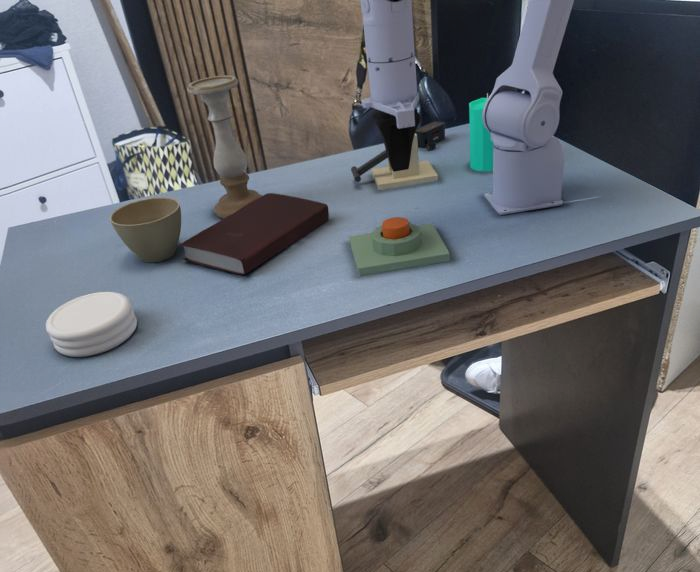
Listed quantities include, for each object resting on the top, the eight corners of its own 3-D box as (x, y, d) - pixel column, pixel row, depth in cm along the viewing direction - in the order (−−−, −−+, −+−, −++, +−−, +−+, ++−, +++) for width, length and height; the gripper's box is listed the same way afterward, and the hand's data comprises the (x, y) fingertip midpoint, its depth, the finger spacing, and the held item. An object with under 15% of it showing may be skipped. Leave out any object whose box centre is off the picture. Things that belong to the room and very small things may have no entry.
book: (331, 221, 98) (328, 201, 96) (246, 278, 86) (241, 256, 84) (270, 210, 105) (266, 191, 103) (183, 262, 93) (177, 241, 91)
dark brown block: (411, 149, 122) (410, 132, 120) (435, 138, 125) (434, 121, 123) (430, 152, 119) (429, 135, 117) (454, 141, 122) (453, 124, 121)
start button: (407, 227, 87) (406, 215, 86) (412, 238, 84) (411, 225, 83) (381, 231, 87) (379, 219, 86) (385, 242, 84) (384, 230, 83)
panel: (433, 230, 91) (432, 210, 90) (450, 261, 83) (449, 240, 81) (350, 244, 91) (347, 224, 89) (359, 276, 83) (356, 255, 81)
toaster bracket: (379, 191, 106) (374, 144, 102) (372, 175, 113) (367, 130, 108) (438, 182, 106) (436, 134, 102) (427, 166, 113) (425, 121, 108)
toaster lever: (358, 186, 107) (351, 175, 105) (355, 176, 111) (347, 165, 109) (415, 149, 104) (408, 137, 103) (409, 140, 108) (402, 128, 107)
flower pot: (133, 278, 90) (116, 231, 86) (120, 253, 98) (104, 209, 94) (200, 256, 94) (187, 210, 90) (182, 234, 101) (170, 191, 97)
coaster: (58, 369, 73) (46, 344, 71) (52, 330, 81) (41, 306, 79) (144, 340, 76) (135, 315, 74) (131, 305, 84) (122, 281, 82)
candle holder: (234, 197, 112) (205, 74, 100) (276, 200, 108) (252, 73, 97) (205, 218, 106) (170, 89, 94) (249, 221, 102) (219, 88, 91)
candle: (465, 163, 112) (464, 91, 105) (499, 158, 112) (500, 86, 105) (474, 174, 107) (474, 100, 100) (510, 169, 107) (511, 94, 100)
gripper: (350, 52, 82) (362, 156, 90) (366, 75, 70) (378, 193, 78) (404, 43, 82) (411, 148, 90) (429, 64, 70) (435, 183, 78)
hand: (400, 168), depth 84 cm, fingers closed
